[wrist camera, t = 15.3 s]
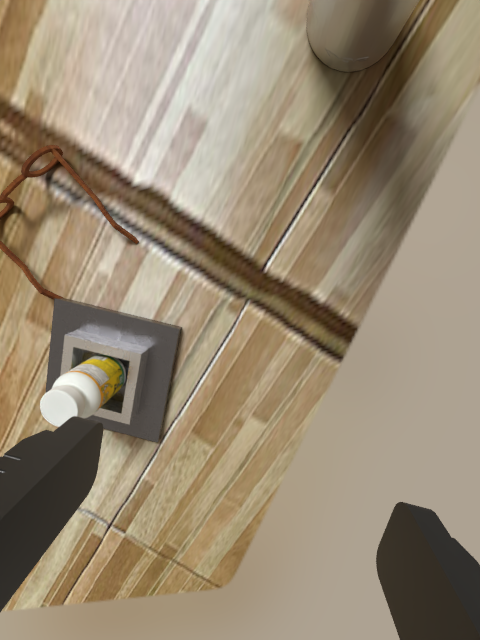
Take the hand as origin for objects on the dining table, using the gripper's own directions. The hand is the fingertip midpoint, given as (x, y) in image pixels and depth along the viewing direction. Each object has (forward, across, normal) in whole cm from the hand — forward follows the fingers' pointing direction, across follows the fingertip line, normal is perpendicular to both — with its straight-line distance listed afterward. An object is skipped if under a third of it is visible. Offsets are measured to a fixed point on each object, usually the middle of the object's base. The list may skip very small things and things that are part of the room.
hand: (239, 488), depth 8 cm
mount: (+30, +17, +13) cm, 37 cm away
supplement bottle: (+29, +17, +13) cm, 36 cm away
